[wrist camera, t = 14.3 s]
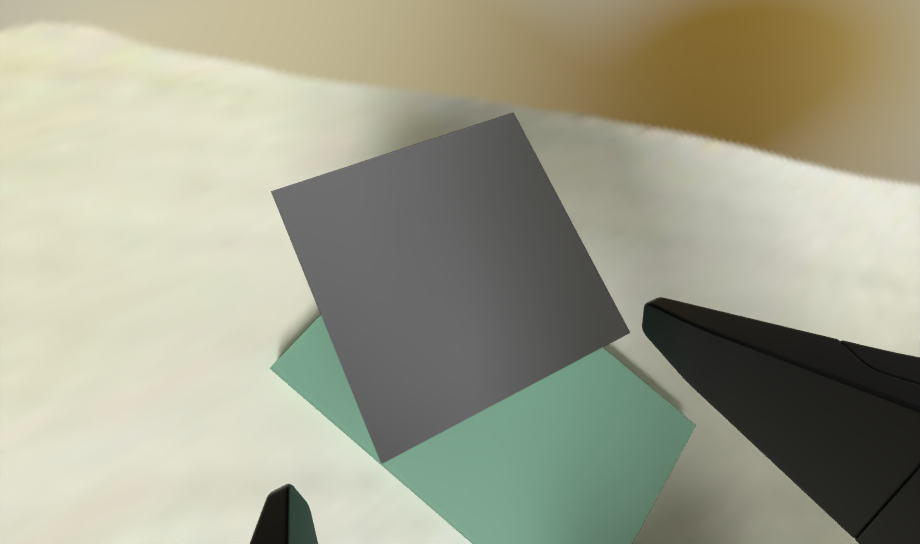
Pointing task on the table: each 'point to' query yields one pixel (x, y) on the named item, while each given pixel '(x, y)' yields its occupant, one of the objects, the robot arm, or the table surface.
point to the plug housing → (446, 278)
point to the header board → (524, 450)
